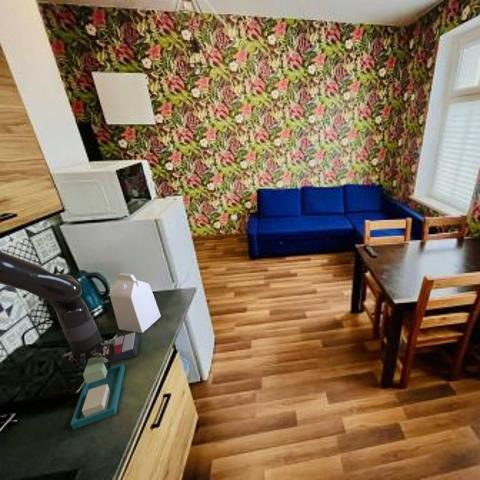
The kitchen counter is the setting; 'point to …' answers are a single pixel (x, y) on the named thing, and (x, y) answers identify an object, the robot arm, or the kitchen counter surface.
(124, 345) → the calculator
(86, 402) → the pad
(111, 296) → the milk
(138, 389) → the kitchen counter surface
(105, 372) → the pale green rectangular block
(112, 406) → the tray
